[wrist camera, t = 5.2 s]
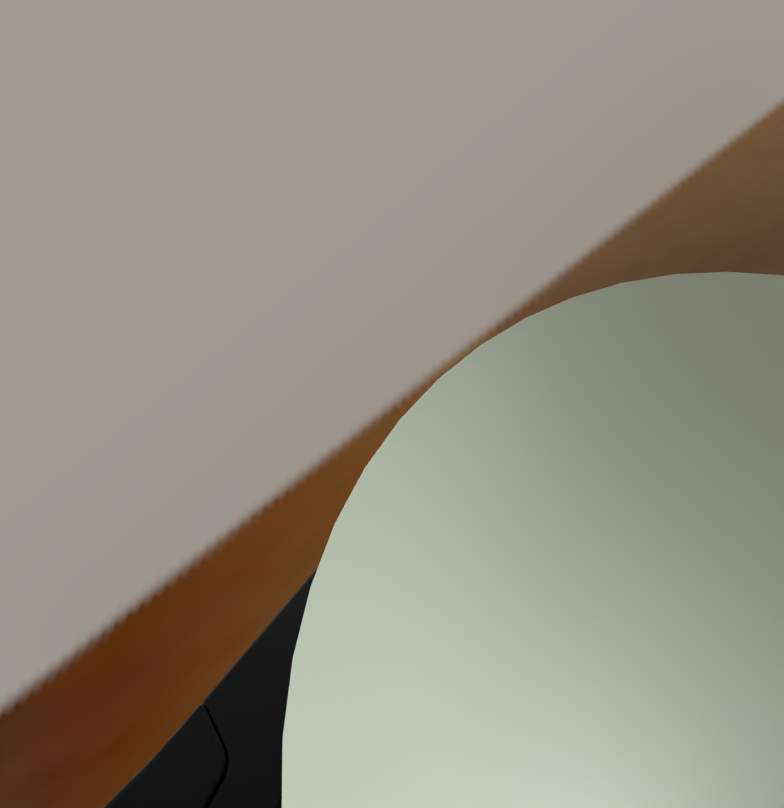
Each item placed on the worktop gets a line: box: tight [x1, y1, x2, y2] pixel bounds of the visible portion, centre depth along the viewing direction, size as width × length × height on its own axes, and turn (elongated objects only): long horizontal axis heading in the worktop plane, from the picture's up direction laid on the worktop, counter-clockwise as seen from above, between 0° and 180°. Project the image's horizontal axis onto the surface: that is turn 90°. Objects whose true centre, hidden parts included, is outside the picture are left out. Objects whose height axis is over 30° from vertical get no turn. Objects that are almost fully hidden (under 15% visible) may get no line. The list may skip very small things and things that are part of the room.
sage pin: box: [282, 272, 784, 808], centre depth 8 cm, size 4×4×13 cm
